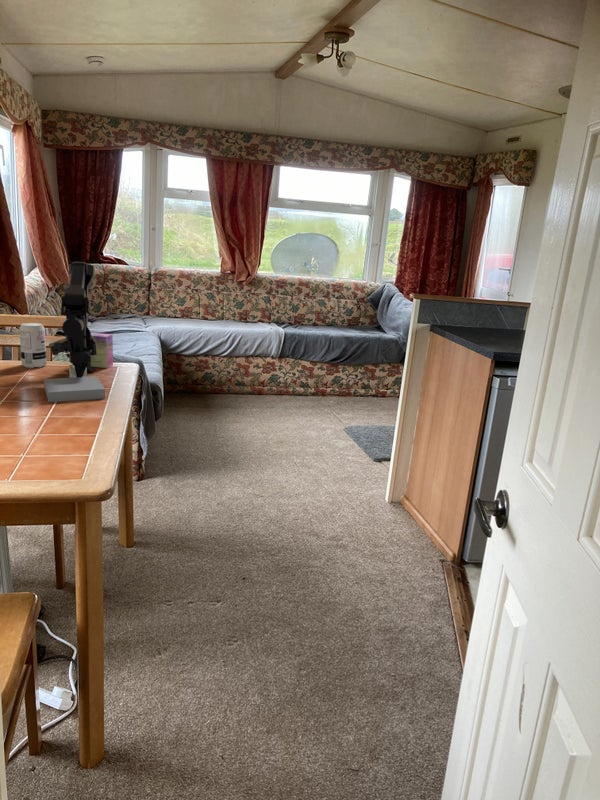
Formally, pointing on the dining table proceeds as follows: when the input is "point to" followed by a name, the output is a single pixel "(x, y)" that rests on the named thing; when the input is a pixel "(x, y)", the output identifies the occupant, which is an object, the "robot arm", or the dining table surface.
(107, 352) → the box
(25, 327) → the supplement can
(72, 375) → the cube
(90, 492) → the dining table surface
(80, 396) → the base board
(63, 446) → the dining table surface
